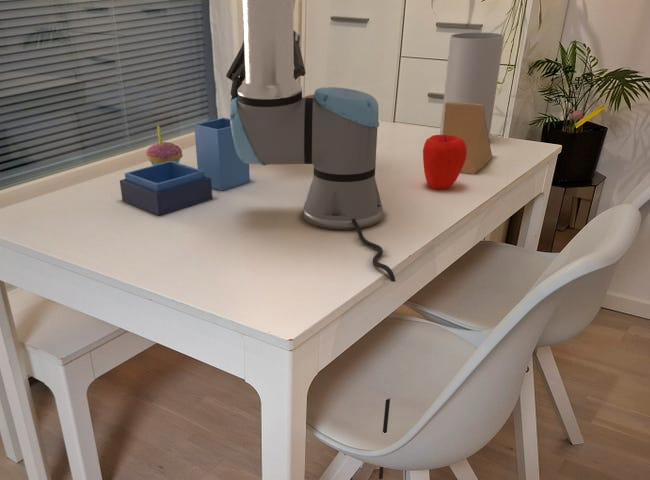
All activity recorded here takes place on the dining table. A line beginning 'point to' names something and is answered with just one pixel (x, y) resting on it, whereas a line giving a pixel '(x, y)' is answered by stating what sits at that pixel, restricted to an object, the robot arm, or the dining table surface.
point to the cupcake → (163, 152)
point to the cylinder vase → (473, 71)
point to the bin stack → (165, 187)
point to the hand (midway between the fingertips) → (257, 109)
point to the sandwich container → (469, 132)
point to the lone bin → (219, 154)
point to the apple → (443, 160)
